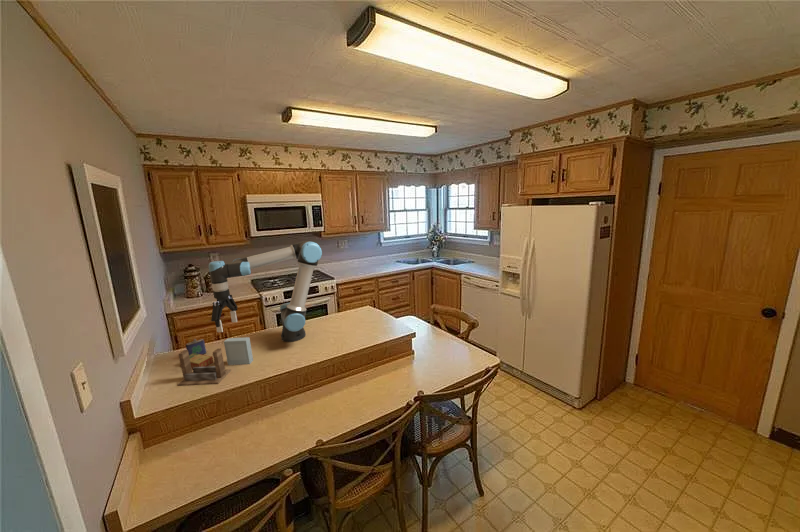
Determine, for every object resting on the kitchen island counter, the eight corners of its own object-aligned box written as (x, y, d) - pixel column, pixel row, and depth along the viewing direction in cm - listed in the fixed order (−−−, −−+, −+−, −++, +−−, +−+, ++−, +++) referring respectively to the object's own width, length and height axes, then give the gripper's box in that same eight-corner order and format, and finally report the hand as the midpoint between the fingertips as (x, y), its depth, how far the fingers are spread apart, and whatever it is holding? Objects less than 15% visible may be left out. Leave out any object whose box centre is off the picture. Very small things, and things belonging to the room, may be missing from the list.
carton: (199, 370, 164) (198, 363, 163) (180, 366, 170) (178, 359, 169) (214, 363, 172) (212, 356, 171) (195, 358, 178) (193, 352, 177)
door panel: (253, 360, 172) (249, 337, 169) (249, 364, 168) (245, 340, 165) (232, 361, 172) (227, 338, 169) (227, 365, 168) (223, 341, 165)
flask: (205, 352, 185) (202, 335, 183) (207, 353, 183) (204, 336, 181) (188, 358, 178) (184, 341, 176) (189, 360, 176) (185, 342, 174)
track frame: (231, 370, 162) (226, 344, 159) (218, 383, 150) (212, 356, 147) (193, 372, 162) (188, 346, 159) (177, 385, 150) (171, 358, 147)
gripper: (227, 283, 177) (233, 318, 181) (198, 297, 153) (206, 336, 157) (240, 283, 177) (246, 318, 181) (213, 296, 152) (220, 336, 157)
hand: (227, 326), depth 169 cm, fingers open, 13 cm apart
